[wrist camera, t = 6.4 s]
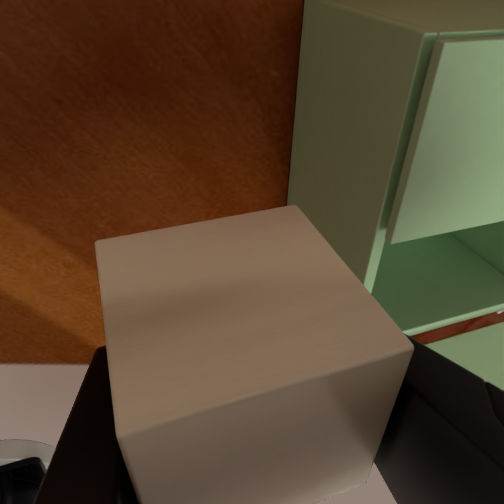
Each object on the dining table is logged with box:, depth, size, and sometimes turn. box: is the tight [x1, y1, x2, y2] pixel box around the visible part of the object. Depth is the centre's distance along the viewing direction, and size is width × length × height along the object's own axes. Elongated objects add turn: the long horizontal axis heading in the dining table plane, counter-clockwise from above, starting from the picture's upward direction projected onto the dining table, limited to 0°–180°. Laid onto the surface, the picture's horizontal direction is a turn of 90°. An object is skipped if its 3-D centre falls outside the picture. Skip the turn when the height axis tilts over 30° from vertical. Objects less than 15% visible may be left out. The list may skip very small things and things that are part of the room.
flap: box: [425, 322, 504, 391], centre depth 19 cm, size 6×11×1 cm
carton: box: [287, 0, 504, 336], centre depth 19 cm, size 13×11×8 cm
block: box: [95, 205, 414, 504], centre depth 8 cm, size 4×4×4 cm
